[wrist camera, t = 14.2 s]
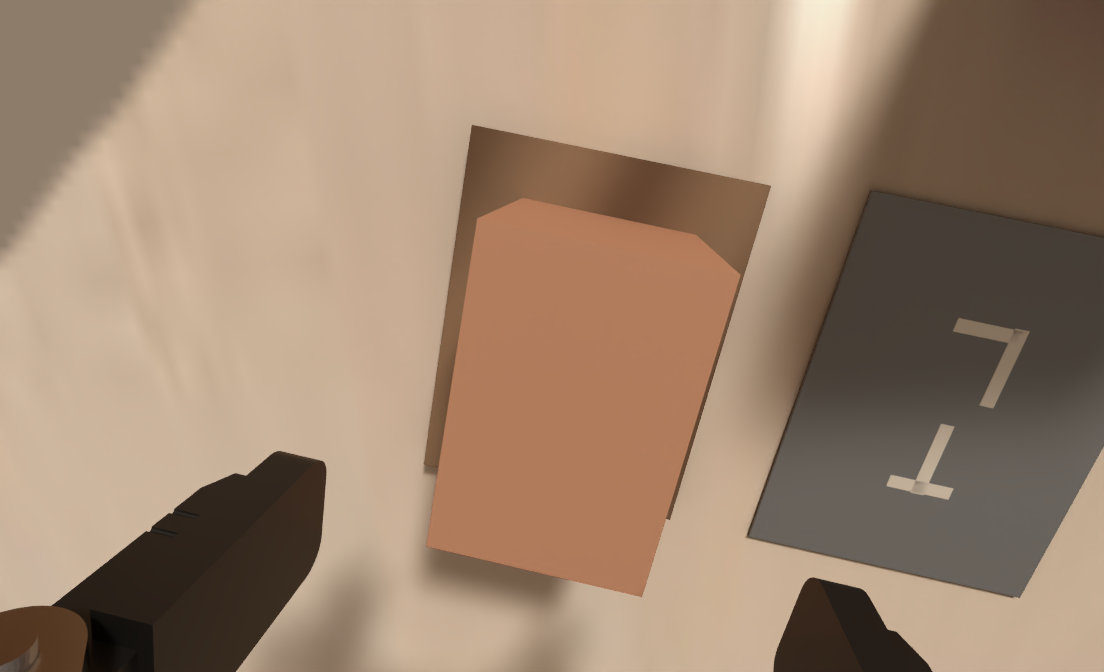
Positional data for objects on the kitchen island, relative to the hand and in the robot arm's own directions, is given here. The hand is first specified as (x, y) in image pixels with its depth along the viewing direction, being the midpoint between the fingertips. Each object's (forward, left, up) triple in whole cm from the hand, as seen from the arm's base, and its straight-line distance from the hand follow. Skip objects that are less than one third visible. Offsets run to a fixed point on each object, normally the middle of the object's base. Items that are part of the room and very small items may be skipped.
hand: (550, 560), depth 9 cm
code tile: (-14, 0, -13) cm, 19 cm away
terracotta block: (0, 0, -12) cm, 12 cm away
